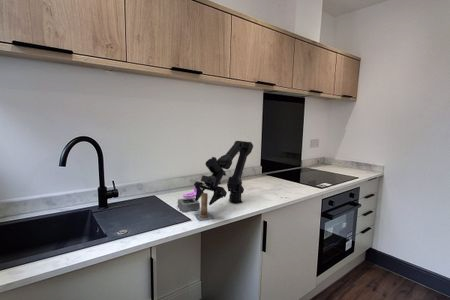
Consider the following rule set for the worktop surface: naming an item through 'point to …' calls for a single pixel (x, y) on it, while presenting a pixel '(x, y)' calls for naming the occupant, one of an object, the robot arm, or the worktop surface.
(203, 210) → the walnut peg
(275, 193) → the worktop surface
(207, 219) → the rubber mat
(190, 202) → the grey socket block
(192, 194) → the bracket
